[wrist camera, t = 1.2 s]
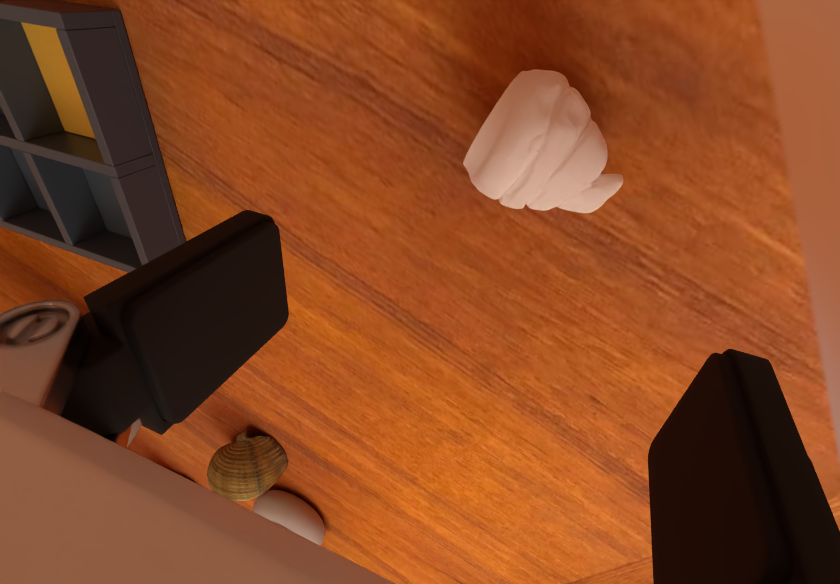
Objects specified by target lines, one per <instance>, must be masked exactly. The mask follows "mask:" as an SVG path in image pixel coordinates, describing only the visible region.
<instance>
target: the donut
mask: <svg viewBox="0 0 840 584" xmlns="http://www.w3.org/2000/svg"><path fill="white" fill-rule="evenodd" d="M253 512H255V513H256V514H258V515H260V516H262V517H264V518H266V519H268V520H270V521H272V522H274V523H276V524H278V525H280V526H282V527H284V528H286V529H288V530H290V531H292V532H294V533H296V534H298V535H300V536H302V537H304V538H306V539H308V540H310V541H312V542H314V543H316V544H318V545H321V544H322V542H323V539H324V536H325V527H324V524H323V521H322V519H321V518H320V516H319V515H318V513H317V512H316V511H315V510H314V509H313V508H312V507H311V506H310V505H309V504H307V503H306V502H305V501H304V500H302V499H300V498H299V497H297V496H295V495H293V494H291V493H288V492H286V491H281V490H269V491H266V492H264V493H263V494H262V495H260V496H259V497H258V498H257V499H256V501H255V503H254V506H253Z"/></svg>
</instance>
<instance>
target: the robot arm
mask: <svg viewBox="0 0 840 584" xmlns="http://www.w3.org/2000/svg"><path fill="white" fill-rule="evenodd" d="M84 299H85V302H86V304H87V306H88V308H89V310H90V312H89V313H87V314H86V315H84V316H82V315H81V313H80V311H79V309H78V307H77V306H76V305H74V304H73V303H71V302H68V301H62V300H43V301H37V302H31V303H28V304H24V305H21V306H18V307H15V308H13V309H10V310H8V311H6V312H4V313H1V314H0V584H395V583H393V582H391V581H389V580H387V579H385V578H383V577H381V576H379V575H378V574H376V573H374V572H372V571H370V570H368V569H366V568H364V567H362V566H360V565H358V564H356V563H354V562H352V561H350V560H348V559H346V558H344V557H342V556H340V555H338V554H336V553H334V552H332V551H330V550H328V549H326V548H324V547H322V546H320V545H318V544H316V543H314V542H312V541H310V540H308V539H306V538H304V537H302V536H300V535H298V534H296V533H294V532H292V531H290V530H288V529H286V528H284V527H282V526H280V525H278V524H276V523H274V522H272V521H270V520H268V519H266V518H264V517H262V516H260V515H258V514H256V513H255V512H253V511H251V510H249V509H247V508H245V507H243V506H241V505H239V504H237V503H235V502H233V501H231V500H229V499H227V498H225V497H223V496H221V495H219V494H217V493H215V492H213V491H211V490H209V489H207V488H205V487H203V486H201V485H199V484H197V483H195V482H193V481H191V480H189V479H187V478H185V477H183V476H181V475H179V474H177V473H175V472H173V471H171V470H169V469H166V468H164V467H162V466H160V465H158V464H156V463H154V462H152V461H150V460H148V459H146V458H144V457H142V456H140V455H138V454H136V453H134V452H132V451H130V450H128V449H126V448H127V444H128V440H129V435H130V431H131V425H132V424H133V423H134V422H135V421H137V420H138V419H140V421H141V423H142V425H143V426H144V427H146V428H149V429H151V430H153V431H155V432H157V433H159V434H161V435H162V434H163V433H165V432H166V431H167V430H168V429H169V428H170V427H171V426H172V425H173V424H176V423H180V422H182V421H183V420H184V419H186V418H187V417H188V416H189V415H190V414H191V413H192V412H193V411H194V410H195V409H196V408H197V407H198V406H199V405H201V404H202V403H203V402H204V401H205V400H206V399H207V398H208V397H209V396H210V395H211V394H212V393H213V392H214V391H215V390H216V389H218V388H219V387H220V386H221V385H222V384H223V383H224V382H225V381H226V380H227V379H228V378H229V377H230V376H231V375H232V374H234V373H235V372H236V371H237V370H238V369H239V368H240V367H241V366H242V365H243V364H244V363H245V362H246V361H247V360H248V359H249V358H251V357H252V356H253V355H254V354H255V353H256V352H257V351H258V350H259V349H260V348H261V347H262V346H263V345H264V344H265V343H267V342H268V341H269V340H270V339H271V338H272V337H273V336H274V335H275V334H276V333H277V332H278V331H279V330H280V329H281V328H283V326H284V325H285V324H286V322H287V319H288V315H289V312H288V303H287V294H286V286H285V277H284V268H283V260H282V251H281V242H280V234H279V228H278V226H277V225H276V224H275V223H274V220H273V219H272V218H271V217H270V216H268V215H264V214H261V213H257V212H254V211H251V210H245V211H242V212H240V213H239V214H237V215H235V216H233V217H231V218H229V219H227V220H226V221H224V222H222V223H220V224H218V225H216V226H215V227H213V228H211V229H209V230H207V231H205V232H203V233H202V234H200V235H198V236H196V237H194V238H192V239H190V240H189V241H187V242H185V243H183V244H181V245H179V246H177V247H176V248H174V249H172V250H170V251H168V252H166V253H164V254H163V255H161V256H159V257H157V258H155V259H153V260H151V261H150V262H148V263H146V264H144V265H142V266H140V267H139V268H137V269H135V270H133V271H131V272H129V273H127V274H126V275H124V276H122V277H120V278H118V279H116V280H114V281H113V282H111V283H109V284H107V285H105V286H103V287H101V288H100V289H98V290H96V291H94V292H92V293H90V294H88V295H87V296H85V297H84ZM648 470H649V492H650V514H651V536H652V558H653V579H654V584H840V531H839V529H838V526H837V524H836V521H835V519H834V516H833V514H832V511H831V509H830V506H829V504H828V501H827V499H826V496H825V494H824V492H823V489H822V487H821V484H820V482H819V479H818V477H817V474H816V472H815V469H814V467H813V464H812V462H811V460H810V458H809V457H808V455H807V453H806V450H805V448H804V445H803V443H802V440H801V438H800V435H799V433H798V430H797V428H796V425H795V423H794V420H793V418H792V415H791V413H790V410H789V408H788V405H787V403H786V400H785V398H784V395H783V393H782V390H781V388H780V385H779V383H778V380H777V378H776V375H775V373H774V370H773V368H772V365H771V363H770V362H769V360H767V359H765V358H761V357H758V356H754V355H751V354H747V353H744V352H740V351H737V350H733V349H728V350H726V351H725V352H723V354H718V353H713V354H711V355H710V356H709V358H708V359H707V361H706V362H705V364H704V365H703V367H702V368H701V370H700V371H699V372H698V374H697V375H696V377H695V378H694V380H693V381H692V383H691V384H690V386H689V387H688V389H687V390H686V392H685V393H684V395H683V396H682V398H681V399H680V401H679V402H678V404H677V405H676V407H675V408H674V410H673V411H672V413H671V414H670V416H669V417H668V419H667V420H666V422H665V423H664V425H663V426H662V428H661V429H660V431H659V432H658V434H657V435H656V437H655V438H654V440H653V442H652V443H651V446H650V449H649V454H648Z"/></svg>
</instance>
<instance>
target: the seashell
mask: <svg viewBox="0 0 840 584" xmlns="http://www.w3.org/2000/svg"><path fill="white" fill-rule="evenodd" d="M287 463H288V462H287V458H286V454H285V452H284V450H283V449H282V448H281V447H280V445H279V444H278V443H277V442H276V441H275V440H274V439H272V438H271V437H270V436H269V437H267V436H266V437H263V436H256V437H253V438H249V437H248V431H245V432H243V433H241V434H239V435H238V436H237V437H236V442H235V443H231V444H227V445H225V446H223V447H221V448H220V449H218V450H217V451H216V453H215V454H214V455H213V457H212V459H211V461H210V463H209V467H208V470H207V471H208V473H207V476H208V481H209V485H210V487H211V489H212V490H213V492H215V493H217V494H219V495H221V496H223V497H225V498H227V499H229V500H231V501H245V500H250V499H253V498H256V497H258V496H260V495H262V494H263V493H264V492H266V491H267V490H268V489H270V488H271V487H272V486H273V485H274V484H275V483H276V482H277V480H278V479H279V478H280V476H281V475H282V474H283V472H284V470H285V469H286V467H287Z"/></svg>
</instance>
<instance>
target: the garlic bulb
mask: <svg viewBox="0 0 840 584" xmlns="http://www.w3.org/2000/svg"><path fill="white" fill-rule="evenodd" d="M590 115H591V111H590V109H589V107H588V105H587V103H586V102H585V101H584V99H583V97H582V96H581V95H580V93H579V92H578V90H576V89H575V88H573V87H570V86H569V83H568V80H567V78H566V77H565V76H564V75H563V74H561V73H559V72H556V71H550V70H539V69H533V70H530V71H521V72H520V73H519V74H518V75H517V76H516V77H515V78H514V80H513V81H512V82H511V83H510V85H509V86H508V87H507V89H506V90H505V92H504V93H503V95H502V96H501V97H500V99H499V100H498V102H497V103H496V105H495V107H494V108H493V110H492V111H491V113H490V114H489V116H488V118H487V119H486V121H485V122H484V124H483V126H482V127H481V129H480V131H479V132H478V134H477V136H476V137H475V139H474V141H473V143H472V145H471V147H470V148H469V150H468V152H467V154H466V157H465V159H464V162H463V165H464V166H465V167H466V169H467V171H468V173H469V176H470V179H471V182H472V183H473V185H475V187H476V188H477V190H478V191H480V192H481V193H483V194H484V195H486V196H487V197H489V198H491V199H499V202H500V204H502V205H504V206H507V207H510V208H514V209H522V208H524V206H525V204H527V206H528V207H529V208H531V209H535V210H545V211H546V210H550V209H551V208H554V207H558V208H561V209H564V210H568V211H574V212H579V213H591V212H593V211H595V210H597V209H598V208H600V207H601V206H602V205H603V204H604V203H605V202H606V200H607V199H608V198H610V197H611V196H613V195H614V194H615V193H616V192H617V191H618V190H619V189H620V187H621V186H622V184H623V176H622V175H621V174H600V173H601V172H602V170H603V169H604V168H605V165H606V162H607V156H608V152H607V145H606V142H605V139H604V137H603V135H602V133H601V132H600V130H599V128H598V126H597V124H596V123H595V122H594V121H592V119H591V117H590Z"/></svg>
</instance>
